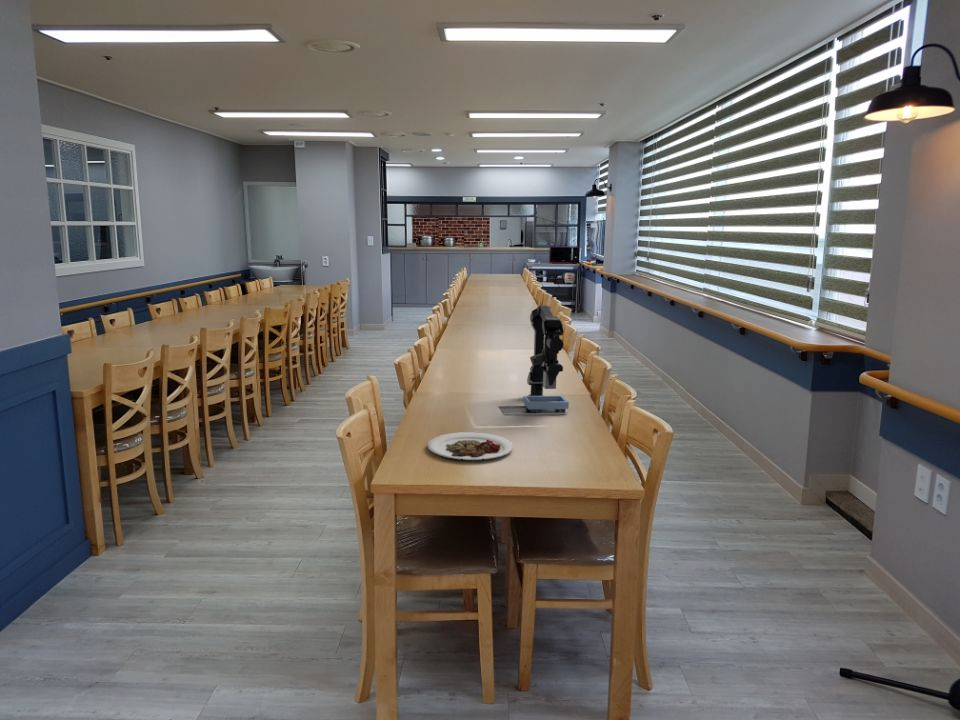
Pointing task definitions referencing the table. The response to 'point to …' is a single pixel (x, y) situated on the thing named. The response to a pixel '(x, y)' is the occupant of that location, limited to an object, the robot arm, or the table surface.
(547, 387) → the steel block
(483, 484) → the table surface
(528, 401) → the cart
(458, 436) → the plated food
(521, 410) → the track
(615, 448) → the table surface
